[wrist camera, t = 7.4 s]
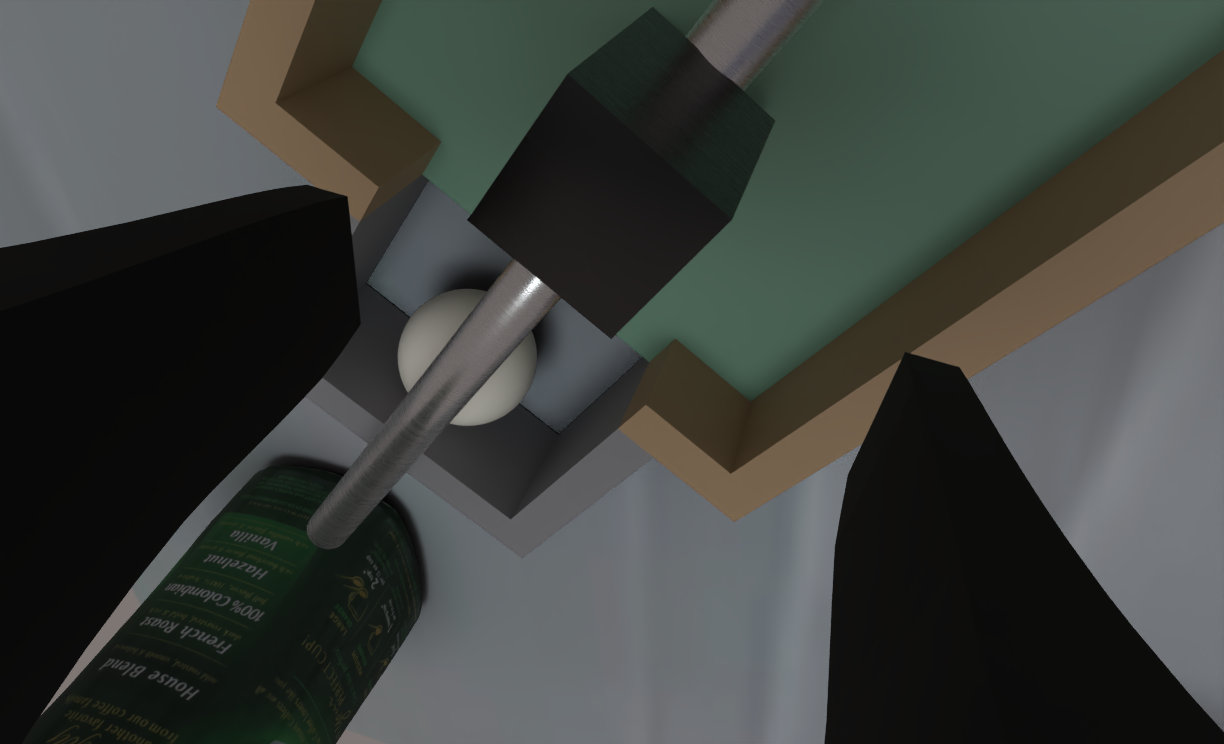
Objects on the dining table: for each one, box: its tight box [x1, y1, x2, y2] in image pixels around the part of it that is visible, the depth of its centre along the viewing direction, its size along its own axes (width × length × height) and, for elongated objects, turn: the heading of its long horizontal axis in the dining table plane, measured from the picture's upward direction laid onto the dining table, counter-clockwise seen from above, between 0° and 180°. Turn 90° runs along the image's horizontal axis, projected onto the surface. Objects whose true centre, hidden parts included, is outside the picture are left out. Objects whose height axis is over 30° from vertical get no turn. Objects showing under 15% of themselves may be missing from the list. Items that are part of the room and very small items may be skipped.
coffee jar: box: [22, 466, 421, 744], centre depth 27 cm, size 10×8×19 cm
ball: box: [398, 289, 537, 426], centre depth 22 cm, size 4×4×4 cm
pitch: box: [216, 0, 1224, 558], centre depth 15 cm, size 29×16×4 cm, turn 143°
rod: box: [307, 0, 825, 549], centre depth 16 cm, size 20×3×8 cm, turn 143°
